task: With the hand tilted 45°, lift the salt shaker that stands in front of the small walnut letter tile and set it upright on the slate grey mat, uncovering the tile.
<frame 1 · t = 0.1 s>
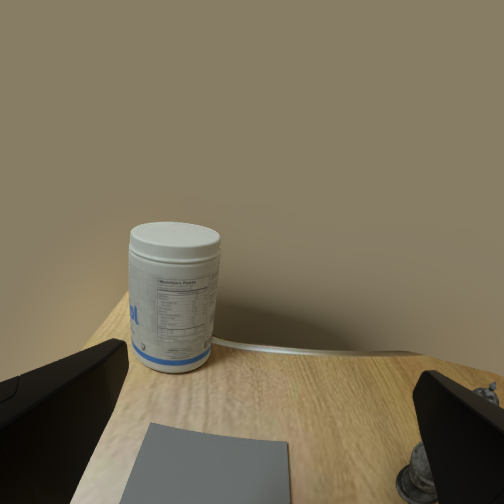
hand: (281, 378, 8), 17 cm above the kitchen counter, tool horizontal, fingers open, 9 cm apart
supplement tub: (171, 353, 34), on the kitchen counter
slate mat: (208, 492, 17), on the kitchen counter
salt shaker: (420, 485, 17), on the kitchen counter
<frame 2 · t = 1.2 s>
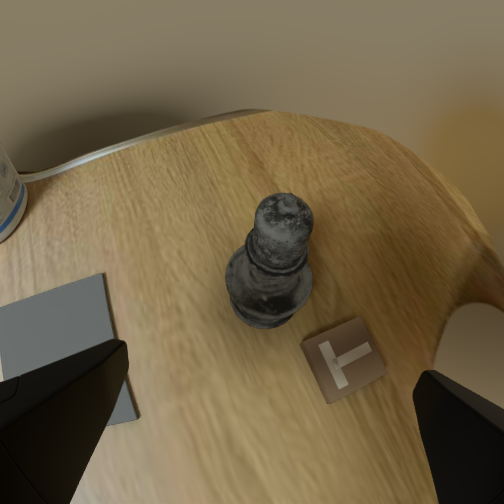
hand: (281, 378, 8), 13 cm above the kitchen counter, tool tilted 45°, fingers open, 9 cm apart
supplement tub: (1, 216, 26), on the kitchen counter
letter tile: (340, 361, 22), on the kitchen counter
slate mat: (54, 359, 19), on the kitchen counter
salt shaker: (264, 296, 24), on the kitchen counter
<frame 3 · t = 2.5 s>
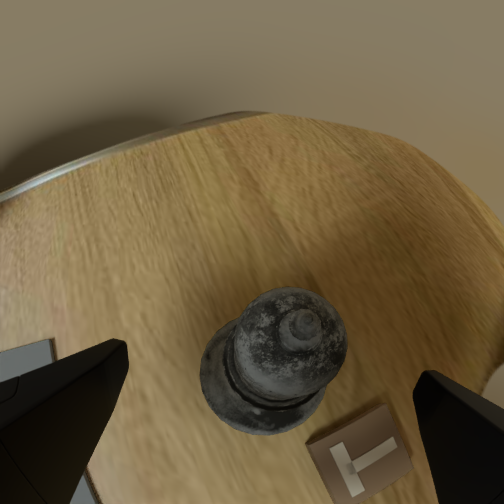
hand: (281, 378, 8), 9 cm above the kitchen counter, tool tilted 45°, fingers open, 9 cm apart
letter tile: (356, 456, 14), on the kitchen counter
slate mat: (7, 438, 12), on the kitchen counter
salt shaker: (258, 380, 16), on the kitchen counter
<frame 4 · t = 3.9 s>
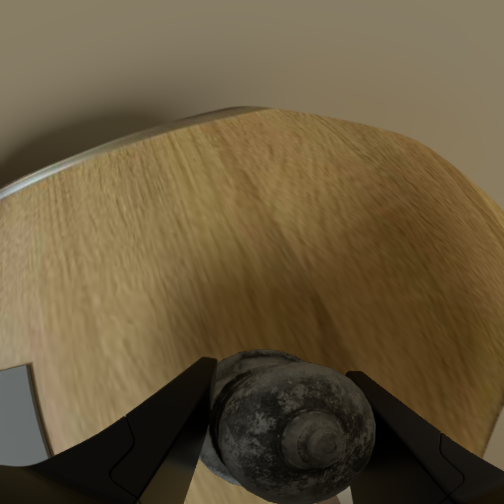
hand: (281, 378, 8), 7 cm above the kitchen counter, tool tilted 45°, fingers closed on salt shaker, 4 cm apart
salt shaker: (256, 417, 14), on the kitchen counter, touching gripper
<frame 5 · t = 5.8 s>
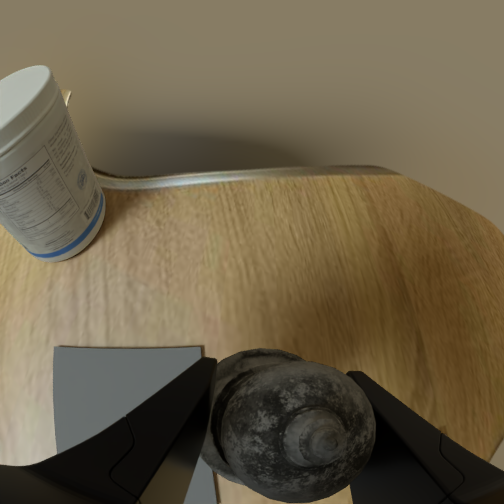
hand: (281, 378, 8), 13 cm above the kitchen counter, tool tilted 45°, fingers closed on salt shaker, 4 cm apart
supplement tub: (66, 223, 25), on the kitchen counter
slate mat: (125, 428, 17), on the kitchen counter
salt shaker: (257, 416, 14), point 6 cm above the kitchen counter, touching gripper
when the fingers open (8 cm above the kitchen counter, at t = 8.0 s): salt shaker stays where it is, resting on slate mat.
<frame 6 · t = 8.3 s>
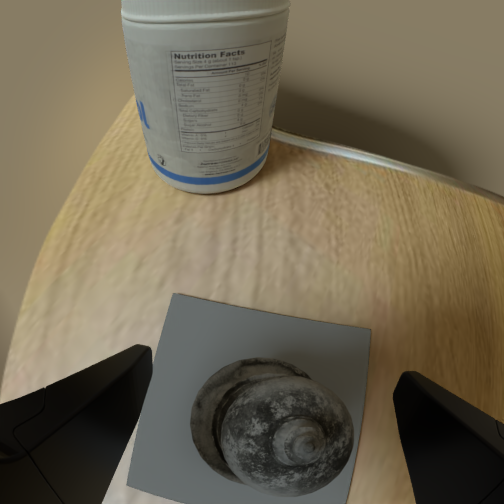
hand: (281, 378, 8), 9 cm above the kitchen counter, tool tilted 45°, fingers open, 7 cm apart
supplement tub: (209, 156, 24), on the kitchen counter
slate mat: (254, 416, 15), on the kitchen counter
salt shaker: (254, 420, 14), resting on slate mat
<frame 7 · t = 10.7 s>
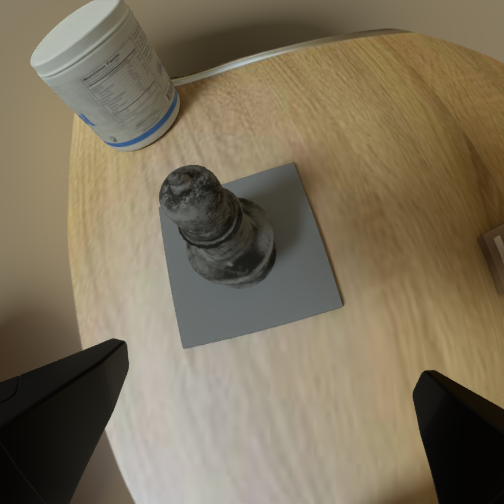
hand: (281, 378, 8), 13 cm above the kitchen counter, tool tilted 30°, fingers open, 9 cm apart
supplement tub: (144, 120, 30), on the kitchen counter
slate mat: (241, 252, 23), on the kitchen counter
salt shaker: (241, 254, 23), resting on slate mat
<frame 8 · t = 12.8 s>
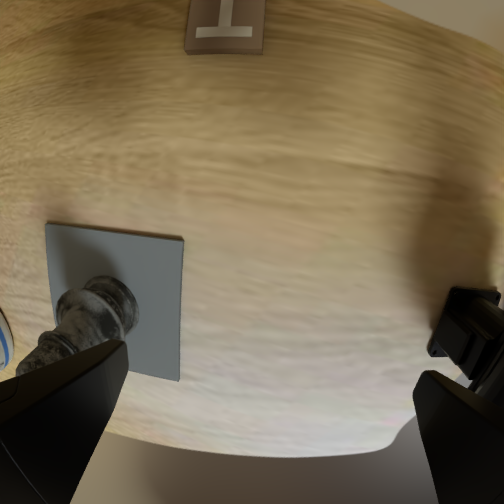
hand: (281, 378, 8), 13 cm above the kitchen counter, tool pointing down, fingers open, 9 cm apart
letter tile: (228, 26, 17), on the kitchen counter
slate mat: (109, 304, 22), on the kitchen counter
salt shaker: (110, 305, 22), resting on slate mat
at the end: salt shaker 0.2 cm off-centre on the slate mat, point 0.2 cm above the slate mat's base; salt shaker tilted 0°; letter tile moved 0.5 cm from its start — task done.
